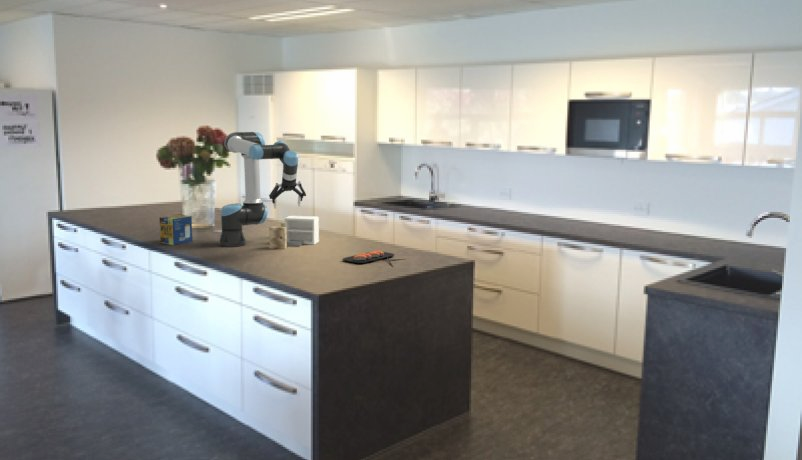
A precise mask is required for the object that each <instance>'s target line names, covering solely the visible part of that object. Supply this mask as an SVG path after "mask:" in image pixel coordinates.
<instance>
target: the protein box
mask: <svg viewBox="0 0 802 460" xmlns="http://www.w3.org/2000/svg"><path fill="white" fill-rule="evenodd" d="M159 233H160V234H159V235H160V244H161V245H170V246H177V245H181V244H186V243H190V242H193V220H192V215H185V214H174V215H173V214H171V215H167V216H162V217H161V216H160V217H159Z"/></svg>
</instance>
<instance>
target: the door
mask: <svg viewBox="0 0 802 460" xmlns="http://www.w3.org/2000/svg"><path fill="white" fill-rule="evenodd" d="M268 230H269V249H275V248H278V249H279V250H281V249H282V250H283V249H284V250H286V249H287V248H288V246H287V227H281V226H269V228H268Z"/></svg>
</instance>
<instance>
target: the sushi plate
mask: <svg viewBox="0 0 802 460" xmlns="http://www.w3.org/2000/svg"><path fill="white" fill-rule="evenodd" d="M393 256H395V254H394V253H392V252H387V251H381V250H372V251H370V252H365V253H359V254H356V255H355V254H354V255H352V256H347V257H343V258H342V261H344V262H350V263H355V264H364V263H369V262H373V261H374V262H375V261H376V262H379V261H380V262H381V261H383V262H384V261H385V262H386V261H388V262H389V264H390V266H391V267H392V268H394V265H393V263H392V262H391V261H401V260H402V261H403V260H404V261H405V260H406V258H397V259H396V258H392V259H390V257H393ZM386 258H387V259H386Z"/></svg>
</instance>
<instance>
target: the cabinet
mask: <svg viewBox="0 0 802 460" xmlns="http://www.w3.org/2000/svg"><path fill="white" fill-rule="evenodd" d="M284 221H285V227H287V247H300V246H301V247H302V245H303V246H304V245H316V244H317V243H319V242H320V217H319V216H311V215H310V216H308V215H307V216H306V215H305V216H304V215H288V216H287V217H284Z"/></svg>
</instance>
